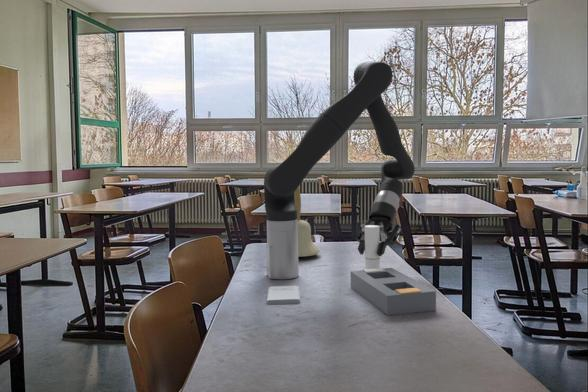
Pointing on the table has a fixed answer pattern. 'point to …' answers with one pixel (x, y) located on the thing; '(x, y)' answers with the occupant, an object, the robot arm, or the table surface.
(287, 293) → the external hard drive
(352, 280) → the socket block
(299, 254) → the handbell
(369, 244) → the tube
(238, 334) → the table surface
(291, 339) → the table surface
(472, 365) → the table surface
